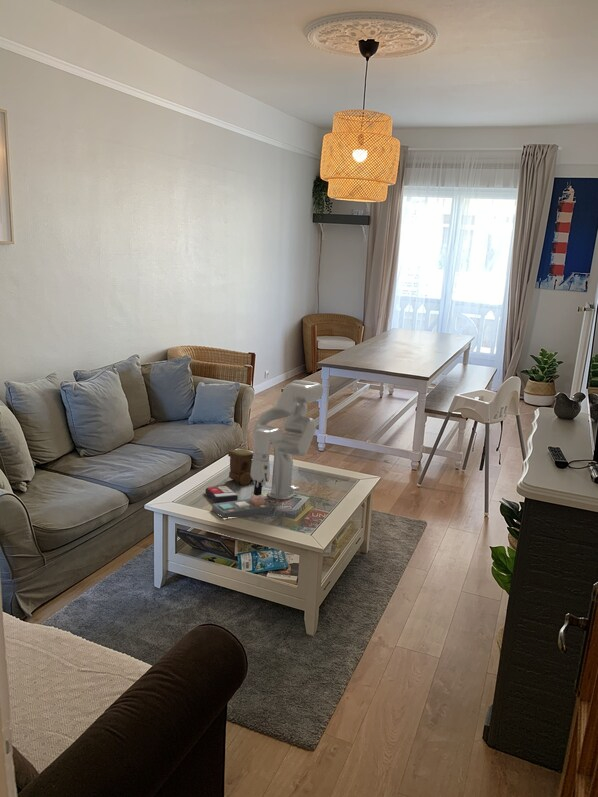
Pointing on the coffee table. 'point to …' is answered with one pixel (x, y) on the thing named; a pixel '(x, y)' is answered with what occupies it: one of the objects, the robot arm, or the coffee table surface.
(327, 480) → the coffee table surface
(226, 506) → the teal key
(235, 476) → the wooden toy train
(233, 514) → the dark grey flat block
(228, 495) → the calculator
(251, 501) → the terracotta key
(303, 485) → the coffee table surface
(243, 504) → the cream key
